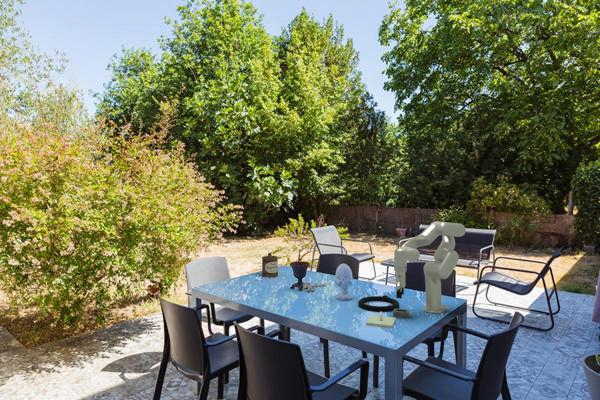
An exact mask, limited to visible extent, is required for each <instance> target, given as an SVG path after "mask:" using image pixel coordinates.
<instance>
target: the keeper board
mask: <svg viewBox="0 0 600 400" xmlns="http://www.w3.org/2000/svg"><path fill="white" fill-rule="evenodd" d="M383 313H384V312H379V315H373V314H372V315H371V314H370V316H369V318H368V319H367V320H366V322H365V325H366V326H369V327H370V326H371V327H380V328H388V329H394V325H395V324H396V321H397V317H393V316H392V317H391V316H384V315H383Z"/></svg>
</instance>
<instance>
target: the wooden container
mask: <svg viewBox="0 0 600 400" xmlns="http://www.w3.org/2000/svg"><path fill="white" fill-rule="evenodd" d="M278 262H279V261H278V256H277V255H273V254H272V252H268V253H267V255H264V256H262V257H261V267H262V268H261V274H262V275H261V276H262V277H263V278H265V277H269V278H268V279H271V277H273V278H277V277H279V264H278Z"/></svg>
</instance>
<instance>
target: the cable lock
mask: <svg viewBox="0 0 600 400" xmlns="http://www.w3.org/2000/svg"><path fill="white" fill-rule="evenodd" d="M369 302H384V303H389V304H391V305H383V306H382V305H371V304H367V303H369ZM357 304H358V306H359V308H361V309H363V310H366V311H369V312H379V313H380V312H382V313H385V312H393V310H394V308H396V309H399V307H400V302H399V301H398V300H396V298H392V297H390V296H388V295H387V294H384V295H376V296H375V295H372V296H366V297H362V298H360V299H359V300H358V303H357Z"/></svg>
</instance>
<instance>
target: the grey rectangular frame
mask: <svg viewBox="0 0 600 400" xmlns="http://www.w3.org/2000/svg"><path fill="white" fill-rule="evenodd" d="M409 317H410V309H402V308H397V309H396V308H394V310H393V311H392V318H402V319H409Z"/></svg>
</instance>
